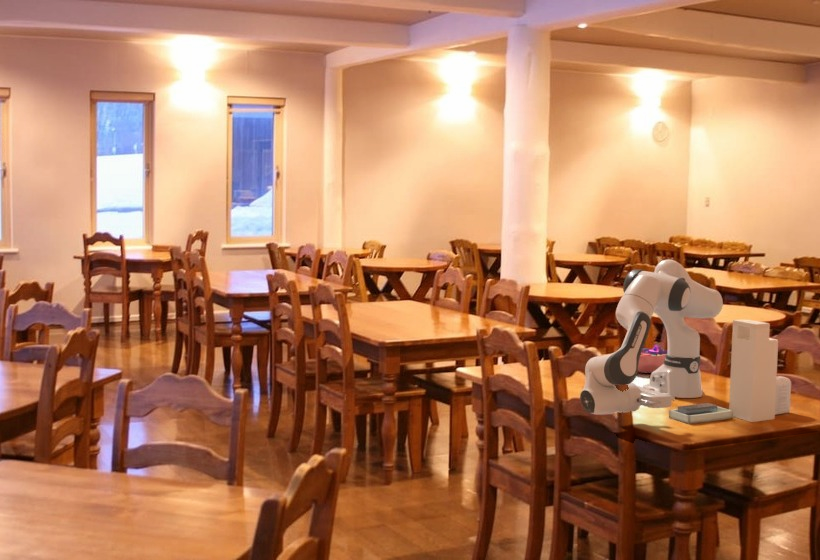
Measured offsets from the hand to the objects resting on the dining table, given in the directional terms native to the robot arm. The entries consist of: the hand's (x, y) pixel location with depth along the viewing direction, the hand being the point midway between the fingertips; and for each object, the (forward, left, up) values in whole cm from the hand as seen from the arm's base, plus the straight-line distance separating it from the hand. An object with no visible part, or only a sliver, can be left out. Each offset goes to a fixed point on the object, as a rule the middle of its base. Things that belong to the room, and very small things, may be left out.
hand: (663, 394), depth 331 cm
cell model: (-69, +51, -10) cm, 86 cm away
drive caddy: (0, +15, -9) cm, 17 cm away
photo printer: (+5, +44, -9) cm, 45 cm away
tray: (0, +16, -9) cm, 19 cm away
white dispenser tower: (+6, +32, -9) cm, 34 cm away
